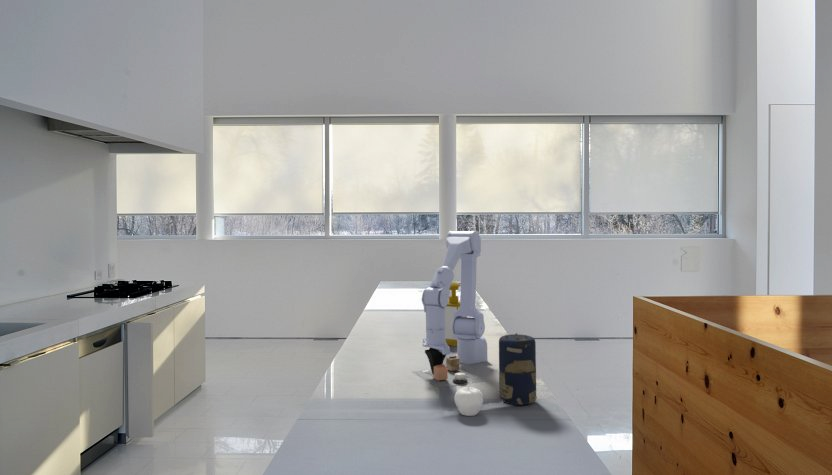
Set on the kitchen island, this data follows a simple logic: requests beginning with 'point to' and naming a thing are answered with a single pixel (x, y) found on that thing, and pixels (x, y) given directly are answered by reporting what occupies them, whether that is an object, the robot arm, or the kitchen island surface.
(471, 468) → the kitchen island surface
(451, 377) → the panel
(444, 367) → the terracotta knob
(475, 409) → the plain white apple
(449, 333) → the soap bottle
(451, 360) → the oak knob
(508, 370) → the canister
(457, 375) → the button
